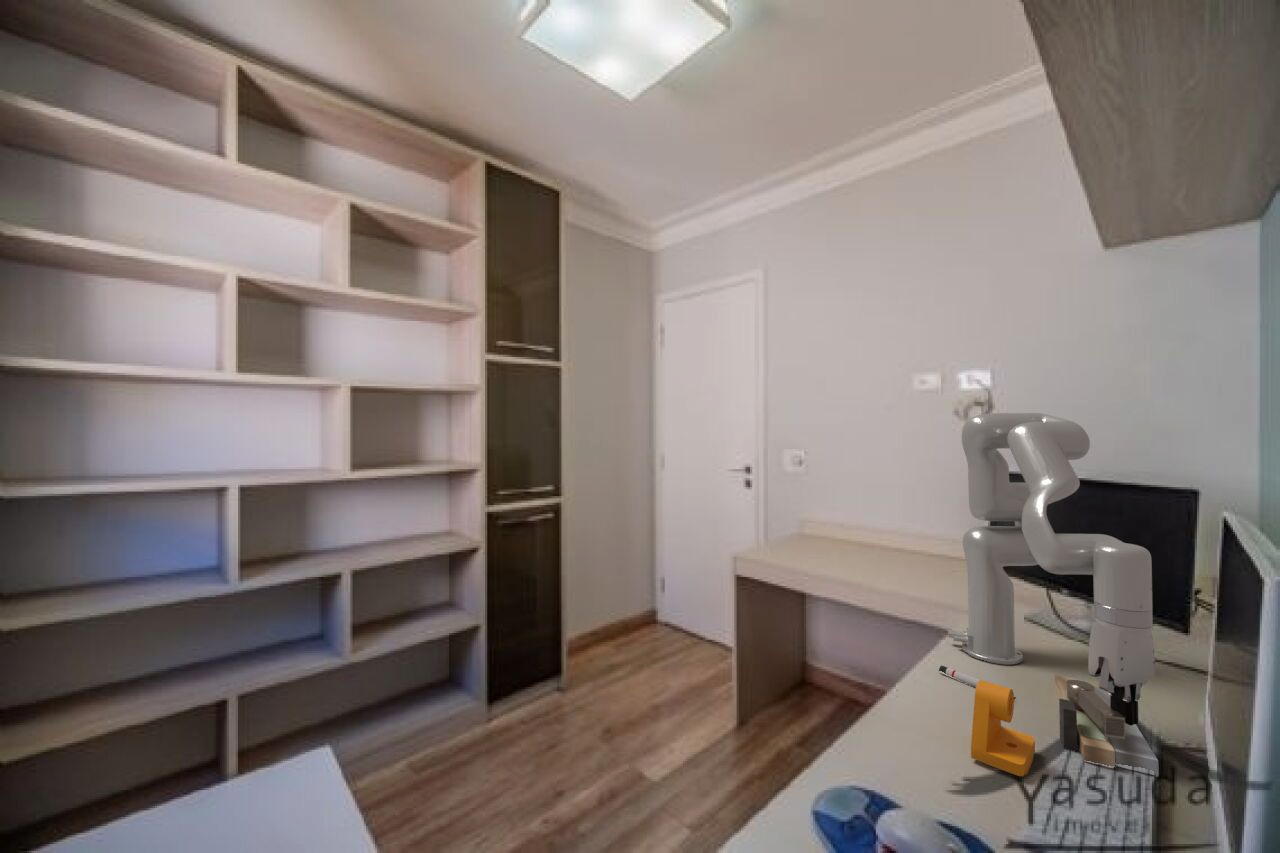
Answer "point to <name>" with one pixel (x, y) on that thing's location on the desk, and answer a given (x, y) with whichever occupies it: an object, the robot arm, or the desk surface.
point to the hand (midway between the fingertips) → (1124, 720)
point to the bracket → (999, 731)
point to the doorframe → (1100, 735)
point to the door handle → (1096, 709)
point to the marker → (960, 676)
